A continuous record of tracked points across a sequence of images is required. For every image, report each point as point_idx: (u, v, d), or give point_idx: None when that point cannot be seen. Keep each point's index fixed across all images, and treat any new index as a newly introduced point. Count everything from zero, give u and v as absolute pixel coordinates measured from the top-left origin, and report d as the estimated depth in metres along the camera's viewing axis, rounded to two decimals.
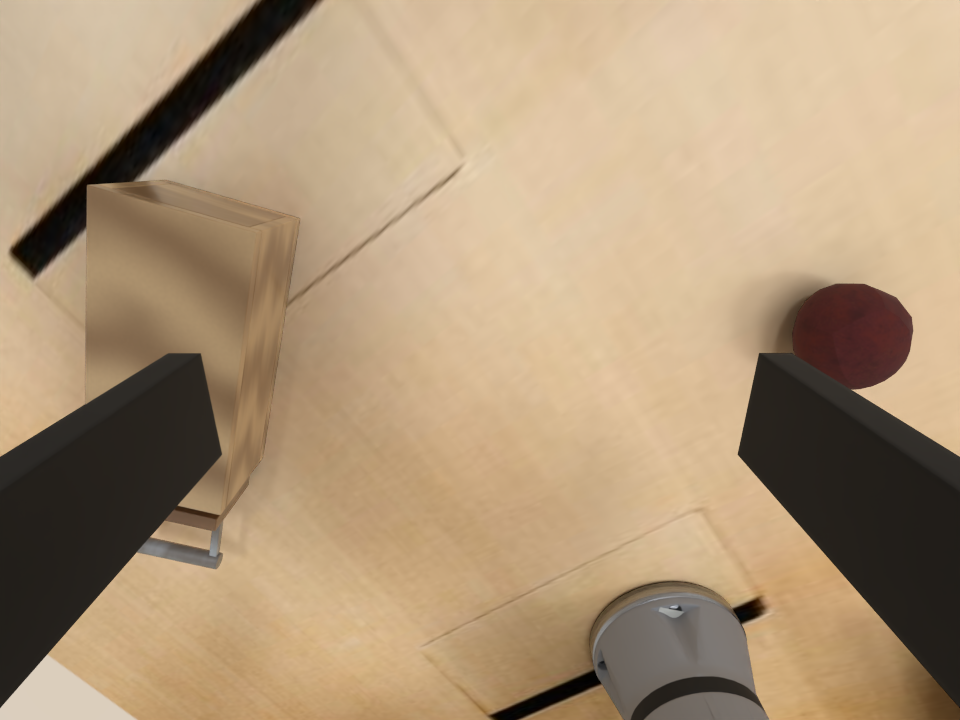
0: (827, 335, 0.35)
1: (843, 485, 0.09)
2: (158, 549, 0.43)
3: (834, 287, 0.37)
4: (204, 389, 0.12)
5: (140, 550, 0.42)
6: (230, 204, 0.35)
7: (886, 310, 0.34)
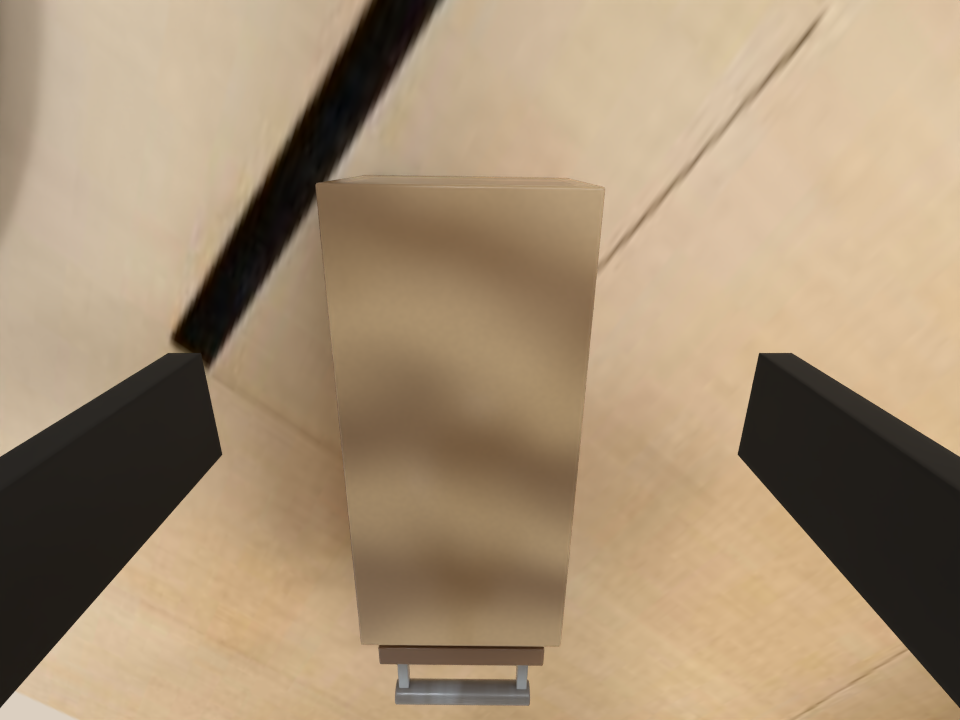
0: None
1: (843, 485, 0.09)
2: (448, 695, 0.30)
3: None
4: (204, 389, 0.12)
5: (426, 702, 0.30)
6: (481, 178, 0.23)
7: None
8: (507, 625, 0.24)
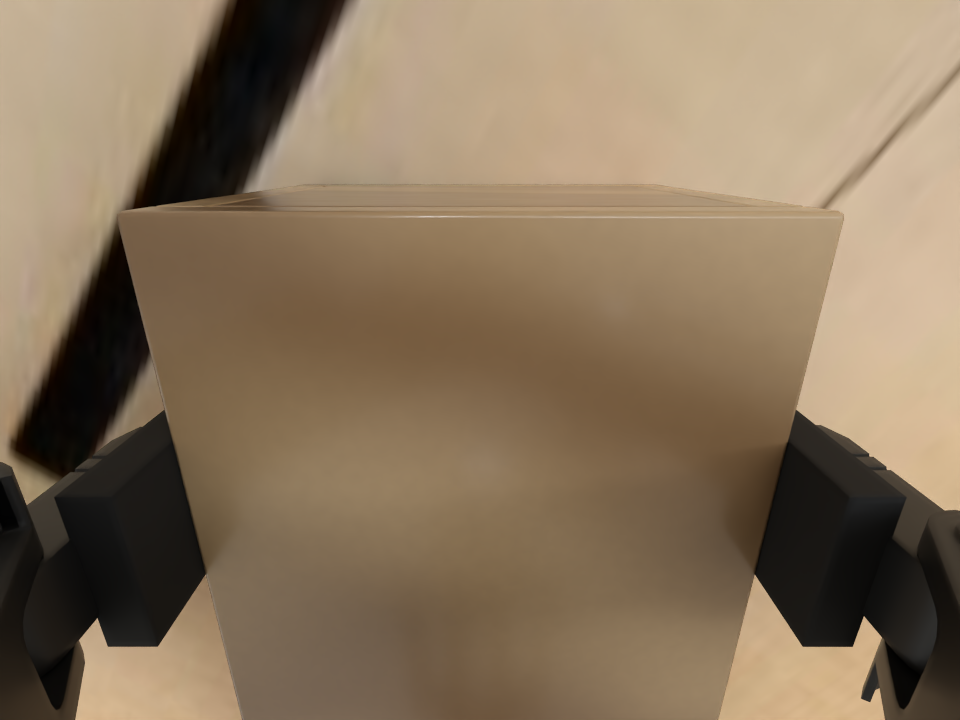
0: None
1: None
2: None
3: None
4: None
5: None
6: (511, 188, 0.12)
7: None
8: None
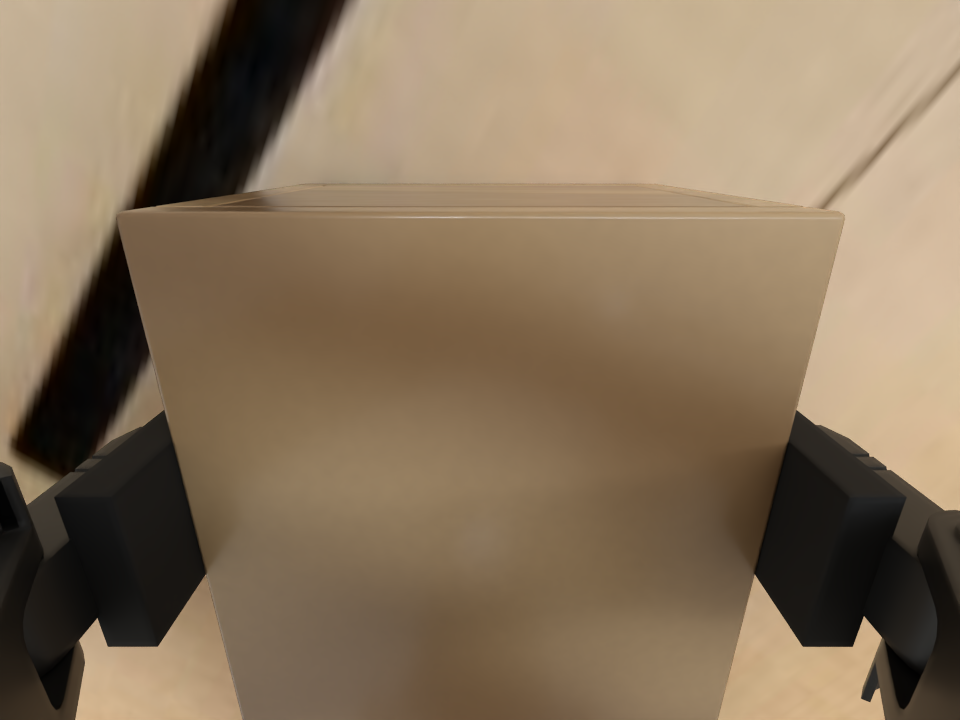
0: None
1: None
2: None
3: None
4: None
5: None
6: (511, 187, 0.12)
7: None
8: None
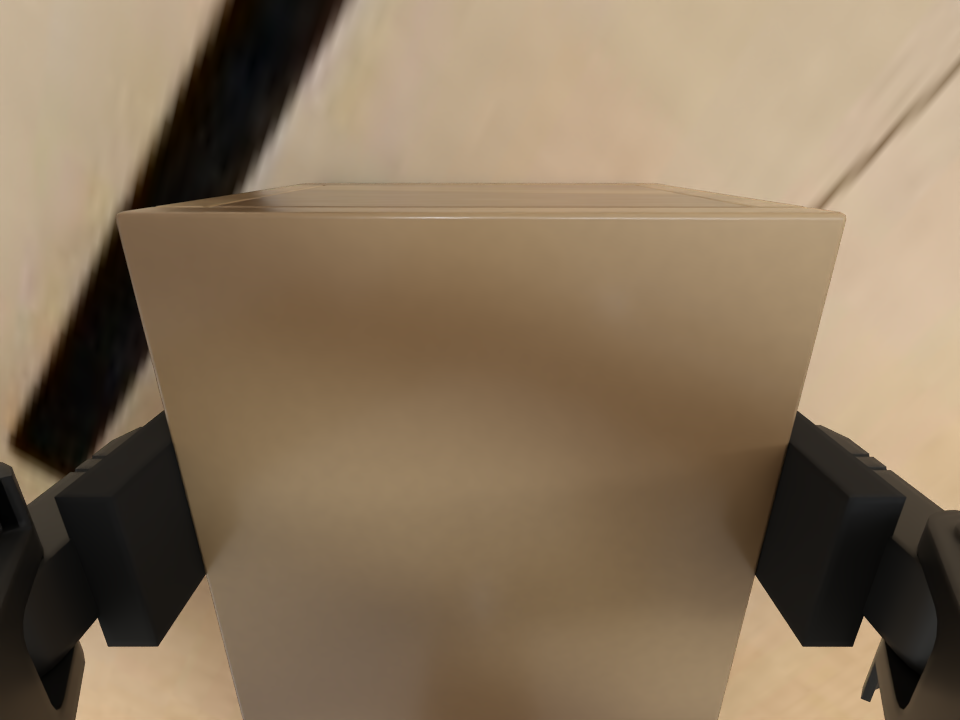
0: None
1: None
2: None
3: None
4: None
5: None
6: (511, 187, 0.12)
7: None
8: None
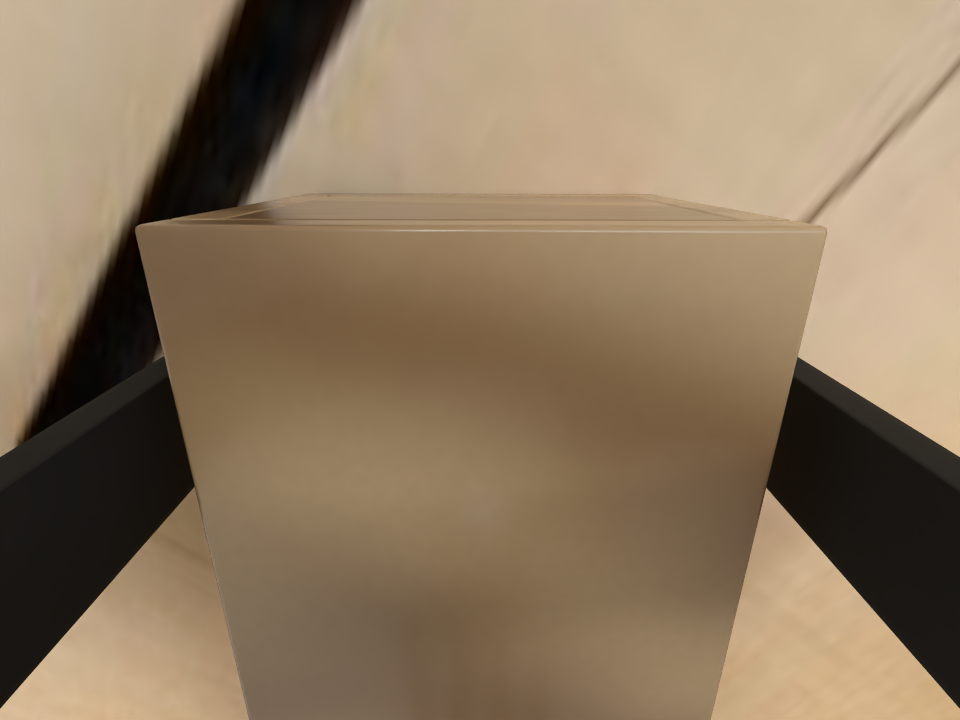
0: None
1: (842, 485, 0.09)
2: None
3: None
4: None
5: None
6: (511, 198, 0.13)
7: None
8: None
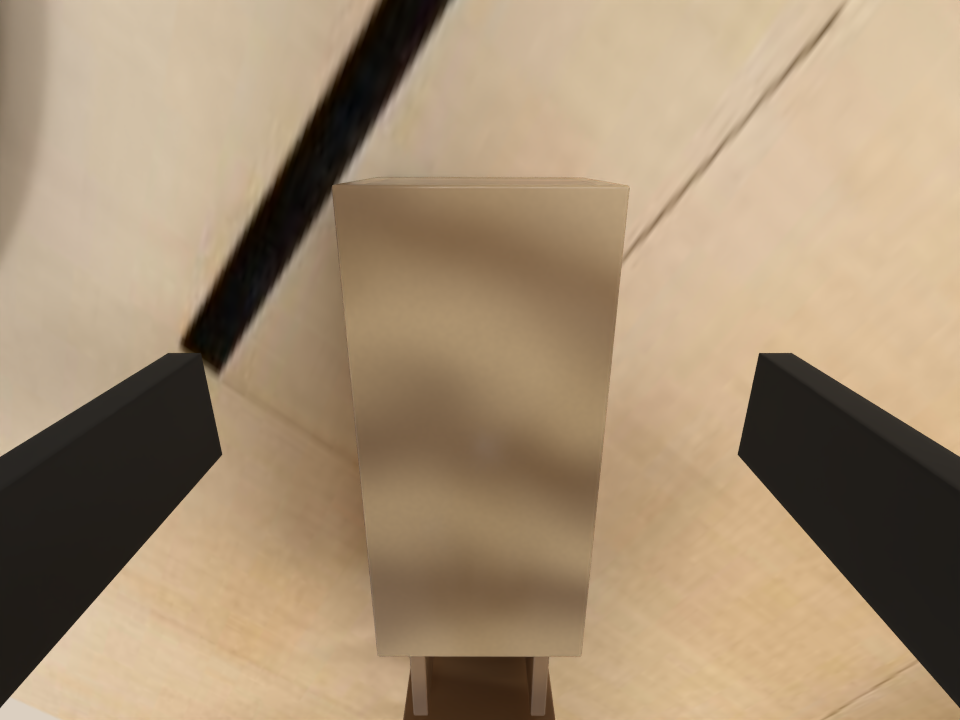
0: None
1: (843, 485, 0.09)
2: None
3: None
4: (205, 389, 0.12)
5: None
6: None
7: None
8: (527, 635, 0.24)
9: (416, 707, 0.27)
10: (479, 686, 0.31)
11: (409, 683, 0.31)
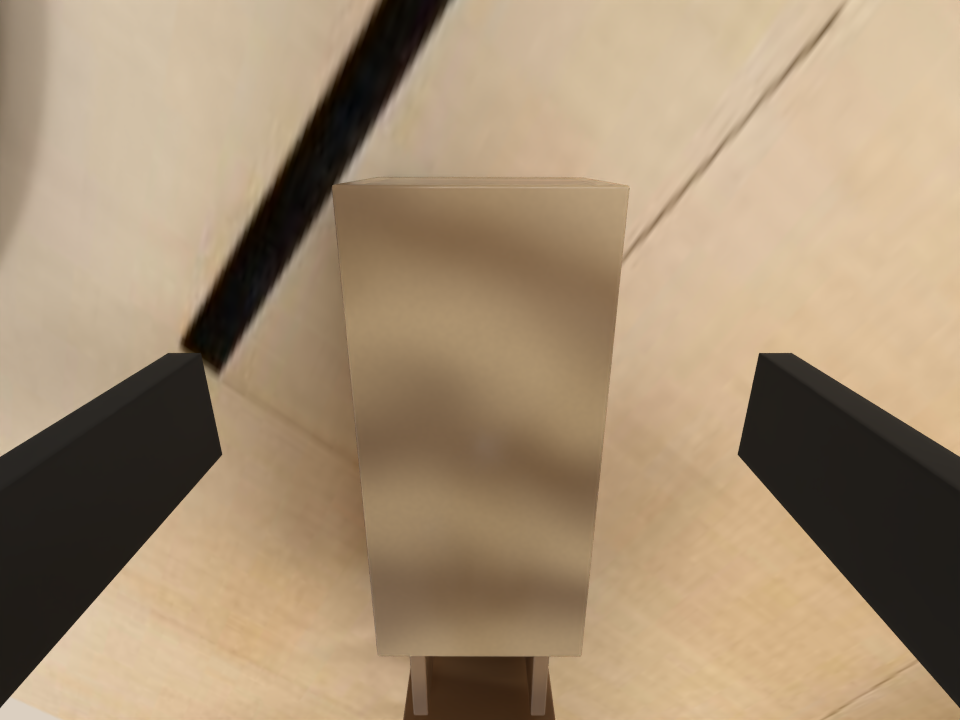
0: None
1: (843, 485, 0.09)
2: None
3: None
4: (205, 389, 0.12)
5: None
6: None
7: None
8: (527, 635, 0.24)
9: (416, 707, 0.27)
10: (479, 686, 0.31)
11: (409, 683, 0.31)
